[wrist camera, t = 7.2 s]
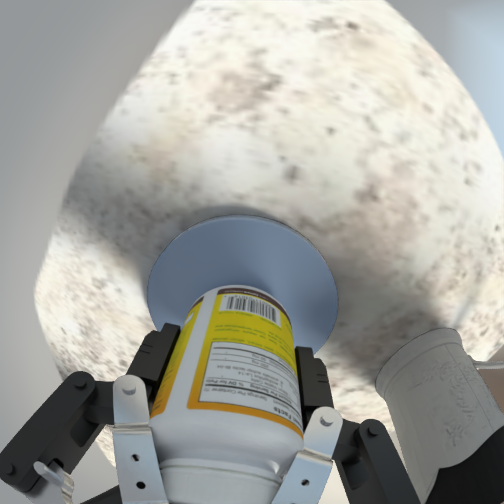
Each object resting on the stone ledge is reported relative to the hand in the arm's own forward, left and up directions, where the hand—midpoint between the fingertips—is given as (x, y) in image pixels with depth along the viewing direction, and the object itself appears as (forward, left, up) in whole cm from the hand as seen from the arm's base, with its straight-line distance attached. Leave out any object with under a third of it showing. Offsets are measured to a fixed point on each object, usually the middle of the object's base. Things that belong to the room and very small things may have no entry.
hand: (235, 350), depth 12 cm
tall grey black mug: (-2, -18, -4) cm, 19 cm away
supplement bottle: (0, 0, -2) cm, 2 cm away
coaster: (0, 0, -4) cm, 4 cm away
